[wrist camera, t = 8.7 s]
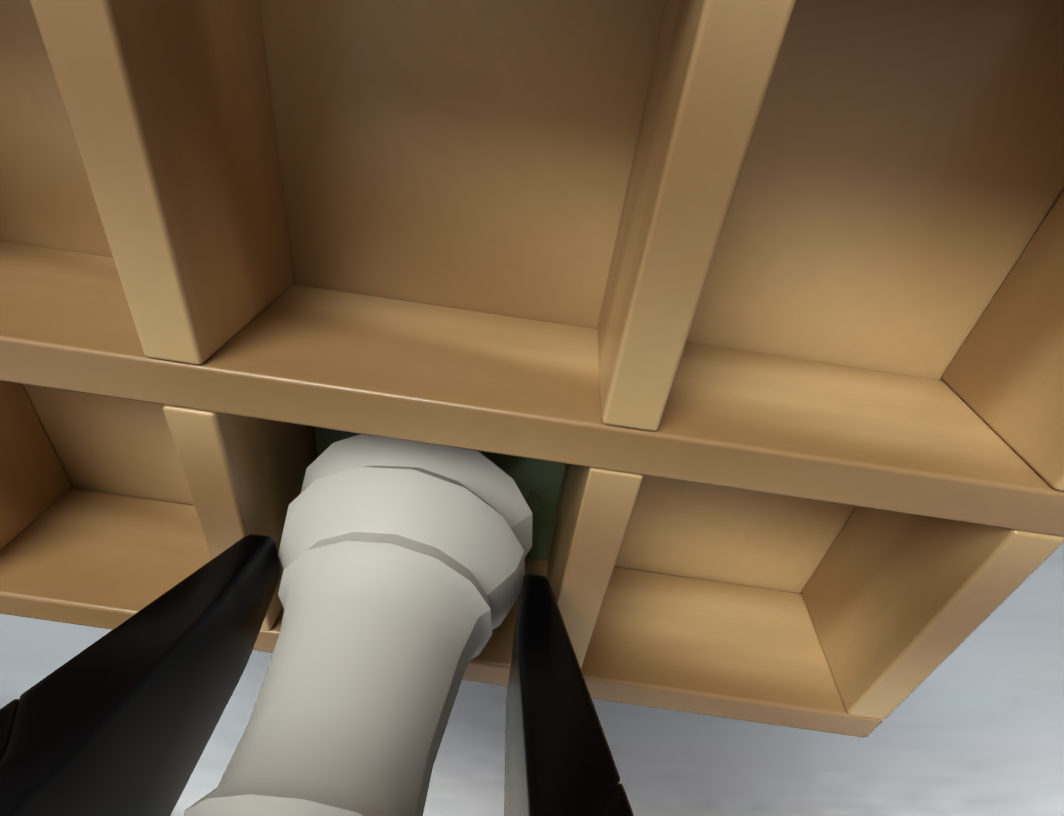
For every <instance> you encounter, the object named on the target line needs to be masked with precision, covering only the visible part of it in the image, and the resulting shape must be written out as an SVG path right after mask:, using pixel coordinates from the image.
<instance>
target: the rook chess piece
mask: <svg viewBox="0 0 1064 816" xmlns="http://www.w3.org/2000/svg"><path fill="white" fill-rule="evenodd" d="M531 547H532V512H531V510H530V508H529V506H528V505H527V503H526V501H525V499H524V497H523V496H522V494H521V492H520V490H519V488H518V487H517V485H516V483H515V481H514V479H513V478H512V477H510V476H509V475H508V474H507V473H506V472H505V471H504V470H503V469H502V468H501V467H499V466H498V465H497V464H496V463H494V462H493V461H492V460H491V459H489V458H488V457H487V456H486V455H484V454H483V453H482V452H481V451H477V450H470V449H463V448H456V447H449V446H442V445H436V444H429V443H422V442H415V441H408V440H401V439H395V438H388V437H381V436H374V435H367V434H360V435H356V436H353V437H350V438H347V439H344V440H340V441H337V442H334V443H332V444H331V445H330V446H329V447H328V448H327V449H326V450H325V451H324V452H323V453H322V454H321V455H320V456H319V457H318V458H317V459H316V460H315V461H314V462H313V463H312V464H310V465H309V466H308V467H307V469H306V473H305V477H304V481H303V486H302V490H301V494H300V495H299V496H298V497H297V498H296V499H294V500H293V501H292V502H291V503H290V504H289V506H288V511H287V515H286V520H285V524H284V529H283V533H282V538H281V543H280V547H279V552H278V556H279V559H280V562H281V564H282V567H283V569H284V571H283V575H282V579H281V584H280V588H279V592H278V596H279V598H280V601H281V603H282V606H283V608H284V614H283V619H282V624H281V630H280V634H279V637H278V640H277V643H276V645H275V648H274V651H273V654H272V657H271V660H270V663H269V666H268V669H267V672H266V675H265V678H264V681H263V684H262V687H261V689H260V692H259V695H258V698H257V701H256V704H255V707H254V710H253V713H252V716H251V719H250V721H249V723H248V725H247V727H246V729H245V731H244V733H243V736H242V738H241V740H240V742H239V744H238V746H237V748H236V750H235V752H234V754H233V756H232V758H231V760H230V763H229V765H228V767H227V769H226V771H225V773H224V775H223V777H222V779H221V781H220V783H219V785H218V787H217V788H216V789H214V790H213V791H212V792H210V793H209V794H207V795H206V796H205V797H203V798H202V799H200V800H199V801H198V802H196V803H195V804H193V805H192V806H191V807H189V808H188V809H186V810H185V813H184V816H423V811H424V806H425V802H426V797H427V792H428V787H429V782H430V777H431V772H432V767H433V764H434V761H435V758H436V755H437V752H438V749H439V746H440V743H441V740H442V737H443V734H444V731H445V728H446V725H447V722H448V719H449V716H450V713H451V710H452V707H453V704H454V701H455V698H456V695H457V692H458V689H459V686H460V683H461V680H462V677H463V675H464V673H465V671H466V669H467V667H468V664H469V662H470V660H471V659H473V658H475V657H477V656H479V654H480V653H481V651H482V650H483V648H484V647H485V645H486V644H487V642H488V641H489V639H490V638H491V636H492V630H493V629H495V628H496V627H498V626H500V625H501V623H502V622H503V620H504V619H505V617H506V616H507V614H508V613H509V611H510V610H511V608H512V607H513V605H514V604H515V602H516V601H517V599H518V596H519V594H520V591H521V585H522V580H523V576H524V575H525V560H524V558H525V557H526V555H527V553H528V552H529V550H530V549H531Z"/></svg>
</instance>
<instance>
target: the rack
mask: <svg viewBox="0 0 1064 816" xmlns="http://www.w3.org/2000/svg"><path fill="white" fill-rule="evenodd" d="M360 434H367V435H374V436H381V437H388V438H395V439H401V440H408V441H415V442H422V443H429V444H436V445H442V446H449V447H456V448H463V449H470V450H477V451H481V452H482V453H483V454H484V455H486V456H487V457H488V458H489V459H491V460H492V461H493V462H494V463H496V464H497V465H498V466H499V467H501V468H502V469H503V470H504V471H505V472H506V473H507V474H508V475H509V476H510V477H512V478H513V479H514V481H515V483H516V485H517V487H518V488H519V490H520V492H521V494H522V496H523V497H524V499H525V501H526V503H527V505H528V506H529V508H530V510H531V512H532V547H531V549H530V550H529V552H528V553H527V555H526V557H525V558H524V560H525V574H526V573H530V574H537V575H544V576H546V577H547V578H548V580H549V582H550V585H551V587H552V590H553V593H554V596H555V599H556V601H557V604H558V607H559V610H560V612H561V615H562V618H563V621H564V624H565V626H566V629H567V632H568V635H569V638H570V640H571V643H572V646H573V649H574V651H575V654H576V657H577V660H578V663H579V665H580V668H581V671H582V674H583V676H584V679H585V682H586V685H587V688H588V690H589V693H590V696H591V698H592V699H599V700H606V701H613V702H620V703H627V704H634V705H641V706H648V707H655V708H662V709H669V710H676V711H683V712H690V713H697V714H704V715H711V716H718V717H724V718H731V719H738V720H745V721H752V722H759V723H766V724H773V725H780V726H787V727H794V728H801V729H808V730H815V731H822V732H829V733H836V734H843V735H850V736H857V737H867V736H868V735H869V734H870V733H871V732H872V731H873V730H874V729H875V728H876V727H877V726H878V725H879V724H880V723H881V722H882V719H885V718H887V717H888V716H889V715H890V714H891V713H892V712H893V711H894V710H895V709H896V708H897V707H898V706H899V705H900V704H901V703H902V702H903V701H904V700H905V699H906V698H907V697H908V696H909V695H910V694H911V693H912V692H913V691H914V690H915V689H916V688H917V687H918V686H919V685H920V684H921V683H922V682H923V681H924V680H925V679H926V678H927V677H928V676H929V675H930V674H931V673H932V672H933V671H934V670H935V669H936V668H937V667H938V666H939V665H940V664H941V663H942V662H943V661H944V660H945V659H946V658H947V657H948V656H949V655H950V654H951V653H952V652H953V651H954V650H955V649H956V648H957V647H958V646H959V645H960V644H961V643H962V642H963V641H964V640H965V639H966V638H967V637H968V636H969V635H970V634H971V633H972V632H973V631H974V630H975V629H976V628H977V627H978V626H979V625H980V624H981V623H982V622H983V621H984V620H985V619H986V618H987V617H988V616H989V615H990V614H991V613H992V612H993V611H994V610H995V609H996V608H998V607H999V606H1000V605H1001V604H1002V603H1003V602H1004V601H1005V600H1006V599H1007V598H1008V597H1009V596H1010V595H1011V594H1012V593H1013V592H1014V591H1015V590H1016V589H1017V588H1018V587H1019V586H1020V585H1021V584H1022V583H1023V582H1024V581H1025V580H1026V579H1027V578H1028V577H1029V576H1030V575H1031V574H1032V573H1033V572H1034V571H1035V570H1036V569H1037V568H1038V567H1039V566H1040V565H1041V564H1042V563H1043V562H1044V561H1045V560H1046V559H1047V558H1048V557H1049V556H1050V555H1051V554H1052V553H1053V552H1054V551H1055V550H1056V549H1057V548H1058V547H1059V546H1060V545H1061V544H1062V543H1063V542H1064V0H0V613H1V614H8V615H15V616H22V617H29V618H36V619H43V620H50V621H57V622H64V623H71V624H78V625H85V626H91V627H98V628H105V629H112V630H113V629H115V628H116V627H118V626H119V625H120V624H122V623H123V622H125V621H126V620H127V619H129V618H130V617H132V616H133V615H135V614H136V613H137V612H139V611H140V610H142V609H143V608H144V607H146V606H147V605H149V604H150V603H151V602H153V601H154V600H156V599H157V598H158V597H160V596H161V595H163V594H164V593H166V592H167V591H168V590H170V589H171V588H173V587H174V586H175V585H177V584H178V583H180V582H181V581H182V580H184V579H185V578H187V577H188V576H190V575H191V574H192V573H194V572H195V571H197V570H198V569H199V568H201V567H202V566H204V565H205V564H206V563H208V562H209V561H211V560H212V559H213V558H215V557H216V556H218V555H219V554H221V553H222V552H223V551H225V550H226V549H228V548H229V547H230V546H232V545H233V544H235V543H236V542H237V541H239V540H240V539H242V538H243V537H245V536H247V535H250V534H257V535H264V536H270V537H272V538H273V539H274V540H275V542H276V546H277V551H278V552H279V547H280V543H281V538H282V533H283V529H284V524H285V520H286V515H287V511H288V506H289V504H290V503H291V502H292V501H293V500H294V499H296V498H297V497H298V496H299V495H300V494H301V490H302V486H303V481H304V477H305V473H306V469H307V467H308V466H309V465H310V464H312V463H313V462H314V461H315V460H316V459H317V458H318V457H319V456H320V455H321V454H322V453H323V452H324V451H325V450H326V449H327V448H328V447H329V446H330V445H331V444H332V443H334V442H337V441H340V440H344V439H347V438H350V437H353V436H356V435H360ZM279 560H280V559H279ZM280 565H281V575H280V579H279V582H278V585H277V587H276V590H275V593H274V595H273V598H272V600H271V603H270V606H269V608H268V611H267V614H266V616H265V619H264V621H263V624H262V627H261V629H260V632H259V634H258V637H257V640H256V642H255V645H254V647H253V650H258V651H265V652H272V653H273V651H274V648H275V645H276V643H277V640H278V637H279V634H280V630H281V624H282V619H283V614H284V608H283V606H282V603H281V601H280V598H279V596H278V592H279V588H280V584H281V579H282V575H283V571H284V569H283V567H282V564H281V562H280ZM519 596H520V594H519ZM519 596H518V599H517V601H516V602H515V604H514V605H513V607H512V608H511V610H510V611H509V613H508V614H507V616H506V617H505V619H504V620H503V622H502V623H501V625H500V626H498V627H496V628H495V629H493V630H492V636H491V638H490V639H489V641H488V642H487V644H486V645H485V647H484V648H483V650H482V651H481V653H480V654H479V656H477V657H475V658H473V659H471V660H470V662H469V664H468V667H467V669H466V671H465V673H464V675H463V677H462V680H467V681H474V682H481V683H488V684H495V685H502V686H508V680H509V672H510V664H511V656H512V648H513V640H514V632H515V624H516V616H517V609H518V602H519Z"/></svg>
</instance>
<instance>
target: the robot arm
mask: <svg viewBox="0 0 1064 816" xmlns="http://www.w3.org/2000/svg"><path fill="white" fill-rule="evenodd" d="M280 575H281V565H280V560H279V556H278V551H277V546H276V542H275V540H274V539H273V538H272V537H270V536H264V535H257V534H250V535H247V536H245V537H243V538H242V539H240V540H239V541H237V542H236V543H235V544H233V545H232V546H230V547H229V548H228V549H226V550H225V551H223V552H222V553H221V554H219V555H218V556H216V557H215V558H213V559H212V560H211V561H209V562H208V563H206V564H205V565H204V566H202V567H201V568H199V569H198V570H197V571H195V572H194V573H192V574H191V575H190V576H188V577H187V578H185V579H184V580H182V581H181V582H180V583H178V584H177V585H175V586H174V587H173V588H171V589H170V590H168V591H167V592H166V593H164V594H163V595H161V596H160V597H158V598H157V599H156V600H154V601H153V602H151V603H150V604H149V605H147V606H146V607H144V608H143V609H142V610H140V611H139V612H137V613H136V614H135V615H133V616H132V617H130V618H129V619H127V620H126V621H125V622H123V623H122V624H120V625H119V626H118V627H116V628H115V629H113V630H112V631H111V632H109V633H108V634H106V635H105V636H103V637H102V638H101V639H99V640H98V641H96V642H95V643H94V644H92V645H91V646H89V647H88V648H87V649H85V650H84V651H82V652H81V653H80V654H78V655H77V656H75V657H74V658H72V659H71V660H70V661H68V662H67V663H65V664H64V665H63V666H61V667H60V668H58V669H57V670H56V671H54V672H53V673H51V674H50V675H48V676H47V677H46V678H44V679H43V680H41V681H40V682H39V683H37V684H36V685H34V686H33V687H32V688H30V689H29V690H27V691H26V692H25V693H23V694H22V695H21V696H20V699H15V700H13V701H12V702H10V703H9V704H7V705H6V706H4V707H3V708H2V709H0V816H170V815H171V813H172V811H173V809H174V807H175V806H176V804H177V802H178V800H179V798H180V796H181V794H182V792H183V790H184V788H185V786H186V784H187V782H188V780H189V778H190V776H191V774H192V772H193V770H194V768H195V766H196V764H197V762H198V760H199V758H200V756H201V754H202V752H203V750H204V749H205V747H206V745H207V743H208V741H209V739H210V737H211V735H212V733H213V731H214V729H215V727H216V725H217V723H218V721H219V719H220V717H221V715H222V713H223V711H224V709H225V707H226V705H227V703H228V701H229V699H230V697H231V695H232V694H233V692H234V690H235V688H236V686H237V684H238V682H239V680H240V678H241V676H242V673H243V671H244V669H245V667H246V665H247V662H248V660H249V658H250V655H251V653H252V650H253V647H254V645H255V642H256V640H257V637H258V634H259V632H260V629H261V627H262V624H263V621H264V619H265V616H266V614H267V611H268V608H269V606H270V603H271V600H272V598H273V595H274V593H275V590H276V587H277V585H278V582H279V579H280ZM619 781H620V777H619V774H618V771H617V768H616V765H615V763H614V760H613V757H612V754H611V751H610V749H609V746H608V743H607V740H606V738H605V735H604V732H603V729H602V726H601V724H600V721H599V718H598V715H597V713H596V710H595V707H594V704H593V701H592V699H591V696H590V693H589V690H588V688H587V685H586V682H585V679H584V676H583V674H582V671H581V668H580V665H579V663H578V660H577V657H576V654H575V651H574V649H573V646H572V643H571V640H570V638H569V635H568V632H567V629H566V626H565V624H564V621H563V618H562V615H561V612H560V610H559V607H558V604H557V601H556V599H555V596H554V593H553V590H552V587H551V585H550V582H549V580H548V578H547V577H546V576H544V575H537V574H530V573H526V574H525V575H524V576H523V580H522V585H521V591H520V596H519V602H518V609H517V616H516V624H515V632H514V640H513V648H512V656H511V664H510V672H509V680H508V688H507V698H506V717H505V804H504V816H634V815H633V812H632V809H631V806H630V804H629V801H628V798H627V795H626V792H625V790H624V787H623V785H622V784H618V783H619Z"/></svg>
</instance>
